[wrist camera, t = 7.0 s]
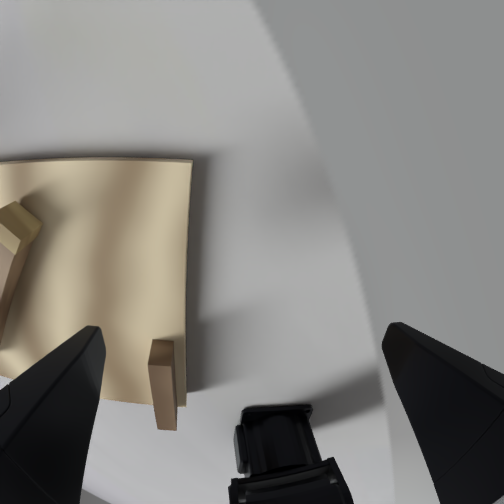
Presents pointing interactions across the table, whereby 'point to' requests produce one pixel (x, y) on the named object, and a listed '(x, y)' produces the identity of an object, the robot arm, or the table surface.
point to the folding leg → (14, 251)
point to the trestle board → (105, 271)
